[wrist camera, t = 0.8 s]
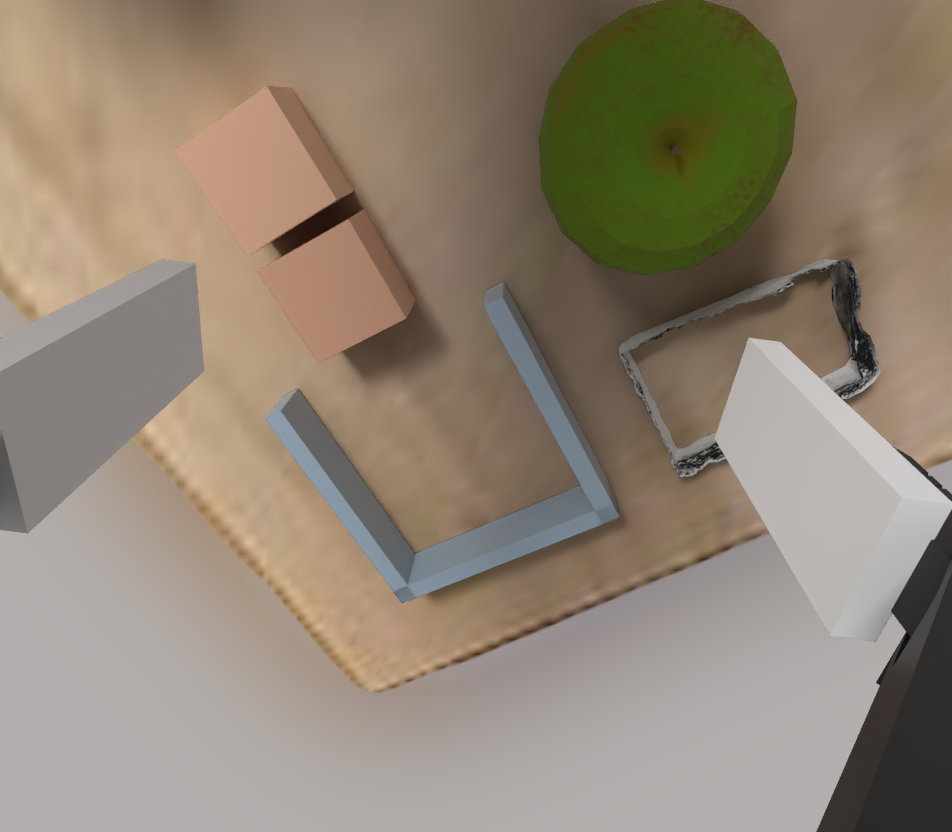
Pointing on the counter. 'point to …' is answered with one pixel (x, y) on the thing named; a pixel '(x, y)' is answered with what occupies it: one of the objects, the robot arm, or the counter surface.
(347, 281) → the terracotta tile
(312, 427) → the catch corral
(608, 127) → the apple
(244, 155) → the terracotta tile
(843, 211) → the counter surface
